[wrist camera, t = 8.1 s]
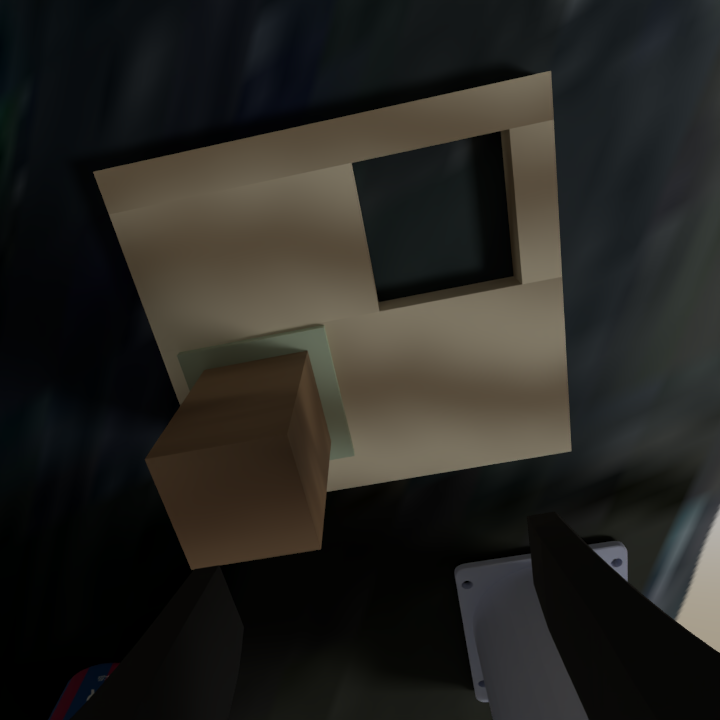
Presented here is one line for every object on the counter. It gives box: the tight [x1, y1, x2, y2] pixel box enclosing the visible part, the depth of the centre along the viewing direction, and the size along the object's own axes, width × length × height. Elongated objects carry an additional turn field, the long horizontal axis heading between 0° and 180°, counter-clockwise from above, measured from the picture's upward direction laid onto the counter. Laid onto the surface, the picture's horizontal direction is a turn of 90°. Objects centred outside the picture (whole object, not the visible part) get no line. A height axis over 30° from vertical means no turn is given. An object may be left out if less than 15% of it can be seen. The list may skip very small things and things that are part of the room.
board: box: [93, 71, 571, 492], centre depth 20 cm, size 14×15×2 cm
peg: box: [145, 350, 331, 570], centre depth 18 cm, size 4×4×6 cm
